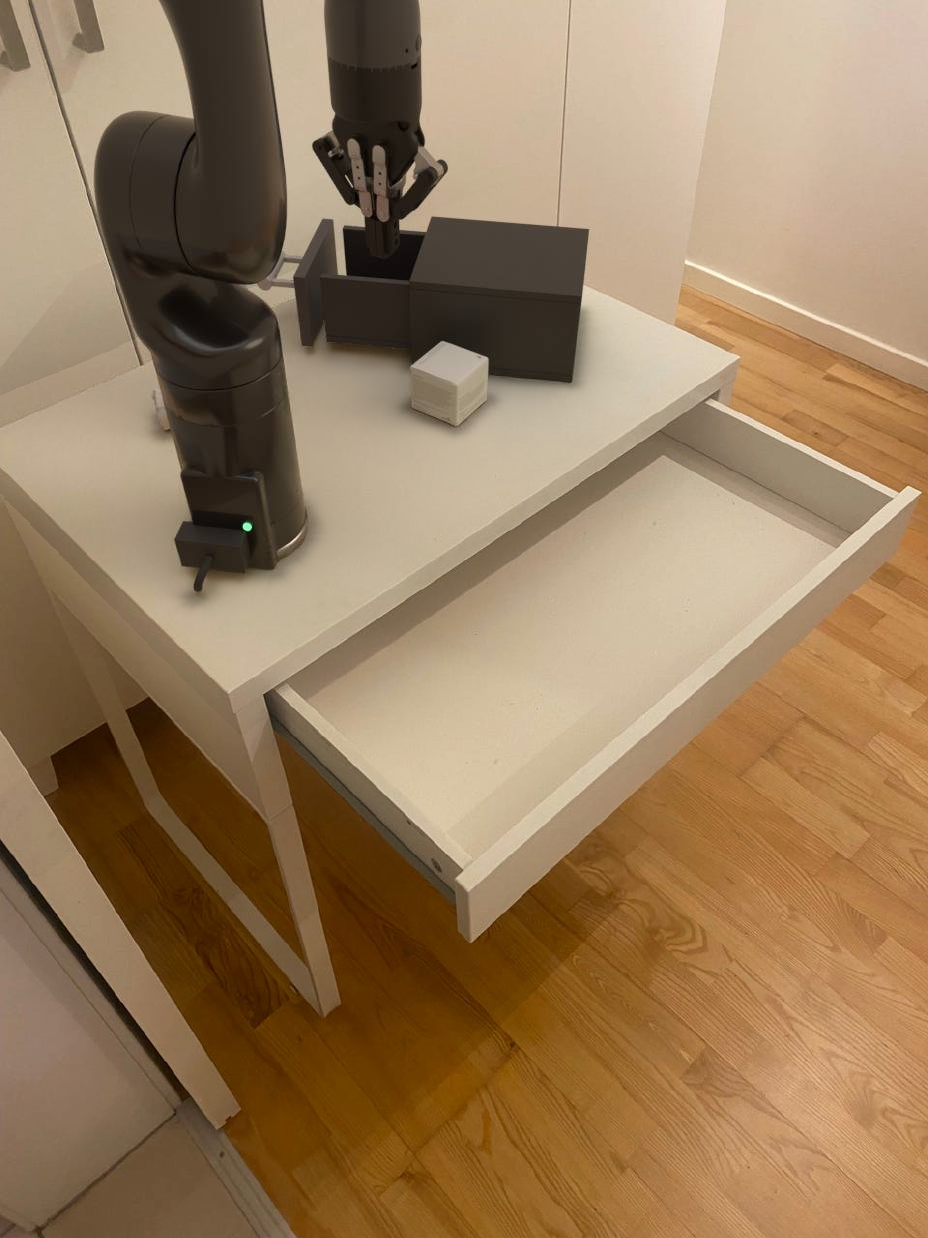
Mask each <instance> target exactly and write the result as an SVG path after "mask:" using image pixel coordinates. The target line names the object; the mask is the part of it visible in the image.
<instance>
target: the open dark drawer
mask: <svg viewBox="0 0 928 1238" xmlns="http://www.w3.org/2000/svg"><path fill="white" fill-rule="evenodd" d="M365 232H366V231H365V226H358V225H343V227H342V238H343V251H344V252H343V253H344V261H345V274H344V275H343V274H339V269H338V259H337V258H338V257H337V247H336V234H335V223H334V219H333V218H322V219H321V221H320V223H319V224H318V227H317V229H316V230H315V232H314V234H313V235H312V239H311V240H310V242H309V244H308V246H307V248H306V250H305V252H304V254H303V255H292V254H290V255H289V254H286V253H285V251H283V250H282V252H281V256H280V259H279V261H278V263H277V265H276V267H275V268H274V270H273V272H272V273H271V274H270V275H269V276H268V277H267V278H266V279H265V280H263V281H261V282H259V283H256V284H257V287H258V288H259V289H260V290H261V291H265V292H267V291H270V290H271V289H272V287H277V288H287V289H294V296H295V304H296V311H297V313H296V314H297V319H298V328H299V329H298V330H299V336H300V345H301V347H307V348H313V347H314V345H315V343H316V341H317V339H318V336H319V334H320V332H321V329H322V327H323V324H324V331H325V341H326V343H332V344H343V345H353V346H363V347H374V348H385V349H396V350H406V351H411V329H410V293H409V289H410V288H409V281H410V278H411V275H412V272H413V269H414V266H415V263H416V260H417V257H418V254H419V252H420V249H421V246H422V243H423V240H424V237H425V234H426V231H420V230H409V229H408V230H407V229H400V245H399V248H398V249H397V250H395V252H394V253H393V254H392V255H391V256H389V257H388V258H387V259H383V258H379V257H376V256H373V255H371V253H370V248H368V246H367V244H366V235H365ZM285 263H287V264H288V263H289V264H298V266H297V268H296V270H295V272H294V273H293V276H292V279H287V278H284V279H283V278H277V277H278V276H279V273H280V272H281V269H282V267H283V266H284V264H285Z"/></svg>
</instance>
